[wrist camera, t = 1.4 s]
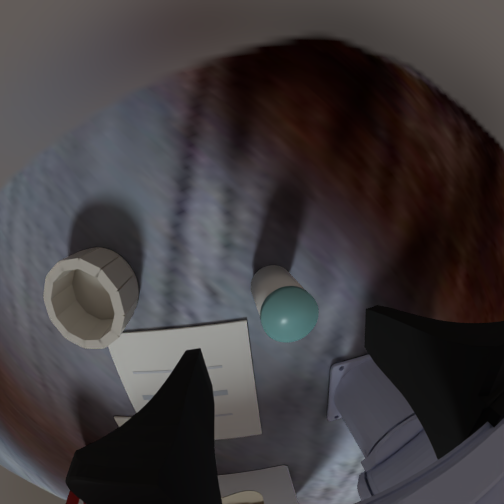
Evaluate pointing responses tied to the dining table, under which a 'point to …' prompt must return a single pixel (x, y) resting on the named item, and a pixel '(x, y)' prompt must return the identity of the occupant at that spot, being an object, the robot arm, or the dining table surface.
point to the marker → (283, 304)
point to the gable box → (258, 487)
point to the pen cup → (91, 296)
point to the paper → (217, 362)
